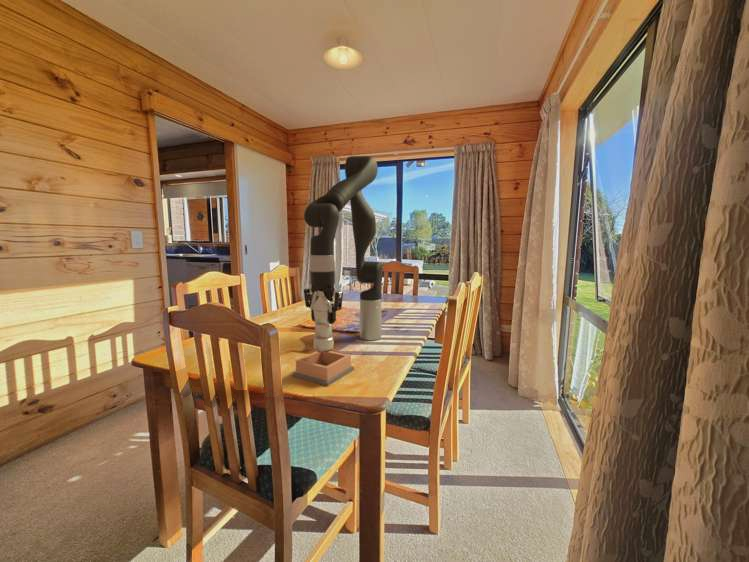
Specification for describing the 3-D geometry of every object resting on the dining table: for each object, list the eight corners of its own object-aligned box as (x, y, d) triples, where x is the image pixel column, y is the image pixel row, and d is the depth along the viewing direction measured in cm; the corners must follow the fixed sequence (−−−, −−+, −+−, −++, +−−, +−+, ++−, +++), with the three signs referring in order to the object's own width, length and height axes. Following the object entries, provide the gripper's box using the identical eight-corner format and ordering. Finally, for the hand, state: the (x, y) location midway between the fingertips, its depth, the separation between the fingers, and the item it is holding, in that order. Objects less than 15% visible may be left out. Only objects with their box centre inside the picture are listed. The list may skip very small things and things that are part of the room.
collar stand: (320, 361, 116) (320, 347, 116) (354, 369, 110) (354, 355, 109) (292, 376, 104) (292, 360, 104) (328, 386, 98) (327, 369, 97)
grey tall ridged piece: (309, 353, 104) (307, 290, 102) (321, 346, 110) (320, 287, 108) (326, 356, 102) (325, 292, 99) (338, 349, 108) (337, 288, 105)
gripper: (348, 269, 102) (349, 322, 105) (312, 267, 109) (313, 317, 112) (334, 271, 96) (334, 328, 98) (296, 269, 103) (298, 321, 105)
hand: (323, 322), depth 105 cm, fingers closed on grey tall ridged piece, 6 cm apart
